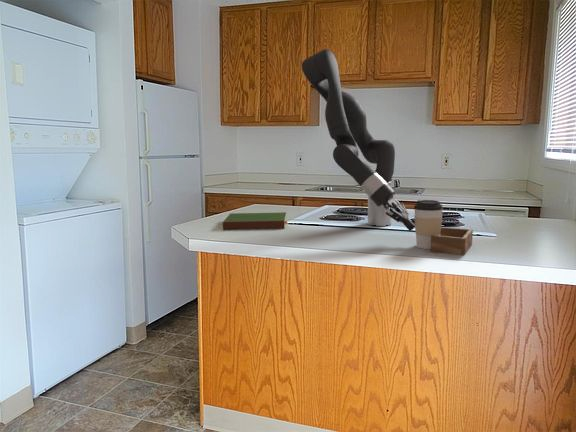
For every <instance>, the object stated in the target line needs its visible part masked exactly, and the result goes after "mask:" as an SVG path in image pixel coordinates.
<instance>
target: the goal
mask: <svg viewBox="0 0 576 432" xmlns="http://www.w3.org/2000/svg"><path fill="white" fill-rule="evenodd" d="M473 233H474V230H473V229H471V228H470V229H469V228H457V227H445V226H443V227H442V226H441V231H440V236H437V235H431V249H430V253H431V252H432V253H442V254H451V255H453V254H454V255H462V256H465V255H466V253H468V251H469V249H470V248H471V247H472V245H473Z"/></svg>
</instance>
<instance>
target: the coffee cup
mask: <svg viewBox="0 0 576 432" xmlns="http://www.w3.org/2000/svg"><path fill="white" fill-rule="evenodd" d="M413 210H414V217H413V218H414V225H415V228H414V230H415V238H416V239H415V241H416V247H417V248H418V249H423V250H424V249H425V250H431V235H437V236H440V231H441V227H442V221H443V210H444V207H443V205H442V204H441V202H440V201H438V200H433V199H430V200H429V199H424V200H423V199H422V200H421V199H420V200H419V199H418V200H417V203H415V204H414V206H413Z"/></svg>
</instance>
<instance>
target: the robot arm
mask: <svg viewBox="0 0 576 432" xmlns="http://www.w3.org/2000/svg"><path fill="white" fill-rule="evenodd" d="M301 70H302V74H303V75H304V77H305V78H306V80H307V81H308V82H309V84H311V86H312V87H313V88H314V89H315V91H316V92H318V93H319V95H320V96H321V97H322V98H323V99H324V100H325V102H326V105H325V109H324V117H325V123H326V126H327V130H328V133H329V137H330V138H331V139H332V140H334V142H335V144H336V146H335V147H334V149H333V150H332V159H333V160H334V162H335V164H337V166H338V167H339V168H341V169H342V170H343V171H344V172H345V173H347V174H348V175H349V176H351V178H353V179H354V181H355V182H356V184H358V186H359V187H361V189H362V190H363V192H364V193H365V194H366V196H367V225H369V226H372V225H376V226H375V227H387V226H386V225H388V226H391V225H392V220H394V221H396V222H397V223H401V224H403V226H405V228H406V229H407V230H408V231H410V232H411V231H413V230H415V222H413V221H412V220H411V219H410V218H409V212H408V210H407V208H406V207H405V204H404V203H403V202H401V203H400V202H399V201H398V200H397V199H396V198H395V197H394V196H395V194H396V191H395V190H394V189H393V186H392V184H393V183H392V182H393V181H392V180H393V175H394V172H395V161H396V160H395V158H396V152H395V151H396V150H395V145H394V144H393V142H391V140H387V139H378V140H377V139H376V138H374V137H373V135H372V134H371V133H370V131H369V129H368V128H367V126H368V125H367V115H366V112H365V110H364V108H363V106H362V105H361V103H360V102H359V101H358V99H356V97H355V96H354V95H352V94H350V93H348V92H345V91H344V90H342V85H341V79H340V71H339V65H338V61H337V59H336V56H335V55H334V52H332V50H330V49H326V48H324V49H322V50H320V51H318V52H316V53H314V54H312V55H310V56H309V57H307V58H305V59H303V60H302V62H301ZM359 151H360V152H361V155H362V156H363V157H364V159H365V161H367V162H365V161H363V160H362V159H360V157H359V154H360V153H359ZM369 163H370V164H375V165H376V168H375V169H374V168H373V167H372V166H371V165H370V164H369Z"/></svg>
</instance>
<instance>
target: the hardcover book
mask: <svg viewBox="0 0 576 432" xmlns="http://www.w3.org/2000/svg"><path fill="white" fill-rule="evenodd" d="M286 215H287V212H284V211H283V212H242V213H241V212H240V213H234V212H233V213H229V214H228V215H227V216H226V217H225V219H224V220H223V221H222V229H223V231H241V230H243V231H244V230H245V231H247V230H285V225H286V224H287V222H288V221H286V220H287V219H286V217H287V216H286Z"/></svg>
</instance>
